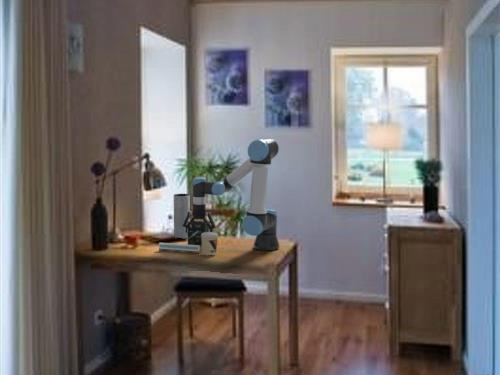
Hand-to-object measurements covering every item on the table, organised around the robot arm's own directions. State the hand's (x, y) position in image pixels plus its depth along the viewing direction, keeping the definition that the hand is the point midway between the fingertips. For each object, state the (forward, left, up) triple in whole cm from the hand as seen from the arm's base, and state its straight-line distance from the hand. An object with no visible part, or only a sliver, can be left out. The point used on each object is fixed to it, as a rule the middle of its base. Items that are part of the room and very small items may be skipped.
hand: (199, 239), depth 394 cm
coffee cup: (-13, +21, -4) cm, 25 cm away
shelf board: (+5, +14, -4) cm, 15 cm away
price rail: (+5, +21, -2) cm, 21 cm away
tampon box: (0, 0, -4) cm, 4 cm away
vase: (+18, -18, -4) cm, 26 cm away
